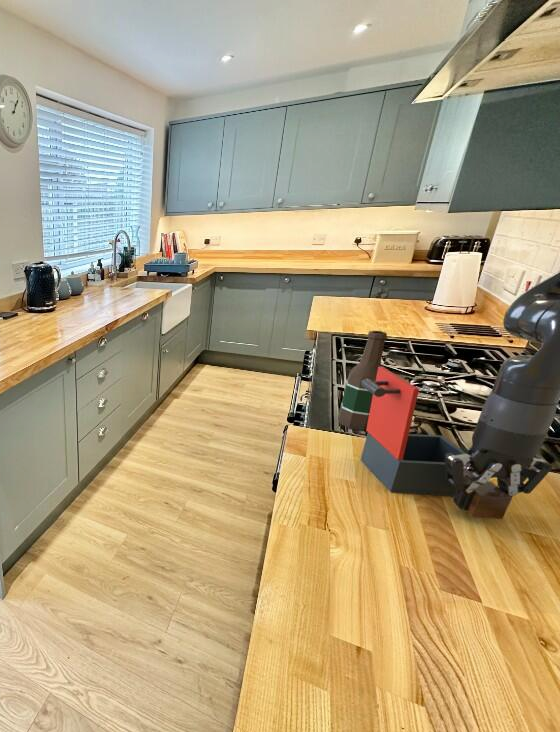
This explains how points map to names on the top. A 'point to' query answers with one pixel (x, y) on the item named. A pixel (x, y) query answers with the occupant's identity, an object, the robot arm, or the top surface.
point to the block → (489, 502)
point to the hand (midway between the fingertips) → (478, 507)
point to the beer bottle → (355, 394)
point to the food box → (412, 465)
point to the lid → (391, 410)
